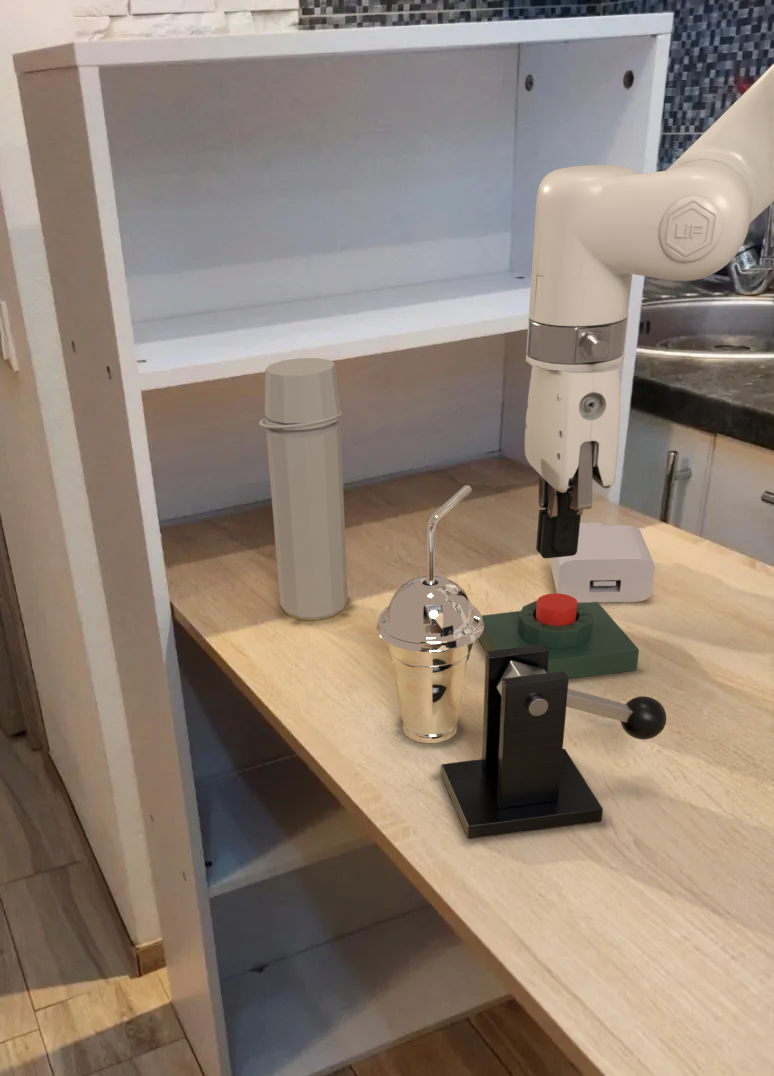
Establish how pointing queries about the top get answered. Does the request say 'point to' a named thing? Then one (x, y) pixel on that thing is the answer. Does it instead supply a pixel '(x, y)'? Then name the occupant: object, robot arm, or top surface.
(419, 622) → the cup with straw
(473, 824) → the black lever stand
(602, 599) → the charger
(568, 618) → the button
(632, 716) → the tap lever
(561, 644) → the green button base
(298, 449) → the water bottle
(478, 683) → the top surface
